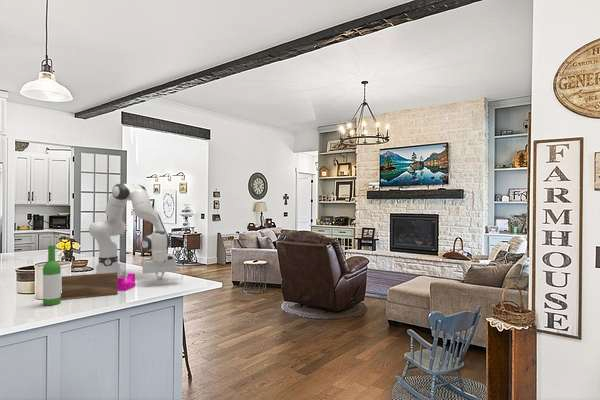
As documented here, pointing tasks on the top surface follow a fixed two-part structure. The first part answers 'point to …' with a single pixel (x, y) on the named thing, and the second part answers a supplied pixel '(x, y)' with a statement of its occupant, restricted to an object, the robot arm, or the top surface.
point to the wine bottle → (51, 279)
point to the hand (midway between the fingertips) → (159, 279)
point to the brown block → (89, 285)
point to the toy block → (126, 282)
